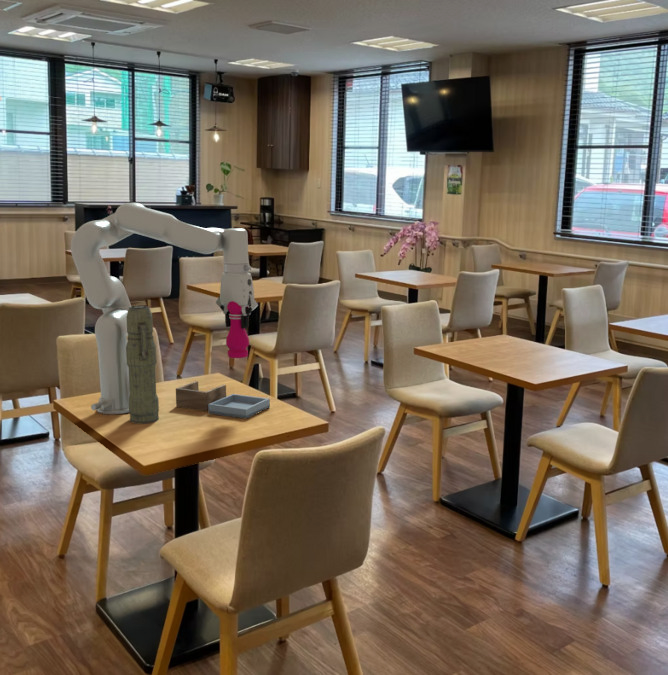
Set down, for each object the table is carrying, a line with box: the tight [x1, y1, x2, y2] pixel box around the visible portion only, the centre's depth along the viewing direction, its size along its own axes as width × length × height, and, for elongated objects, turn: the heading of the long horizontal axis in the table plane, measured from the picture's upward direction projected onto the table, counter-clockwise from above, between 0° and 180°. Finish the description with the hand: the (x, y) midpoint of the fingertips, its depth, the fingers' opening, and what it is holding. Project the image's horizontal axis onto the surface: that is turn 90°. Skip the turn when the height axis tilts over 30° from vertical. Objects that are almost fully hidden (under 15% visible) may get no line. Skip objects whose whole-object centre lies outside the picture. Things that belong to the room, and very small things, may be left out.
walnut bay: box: [175, 380, 227, 412], centre depth 262 cm, size 11×12×6 cm
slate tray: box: [208, 393, 271, 420], centre depth 256 cm, size 14×14×3 cm
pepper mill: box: [225, 301, 250, 359], centre depth 251 cm, size 7×7×20 cm
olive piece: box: [126, 304, 160, 425], centre depth 243 cm, size 9×12×35 cm
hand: (237, 326), depth 251 cm, fingers closed on pepper mill, 5 cm apart
